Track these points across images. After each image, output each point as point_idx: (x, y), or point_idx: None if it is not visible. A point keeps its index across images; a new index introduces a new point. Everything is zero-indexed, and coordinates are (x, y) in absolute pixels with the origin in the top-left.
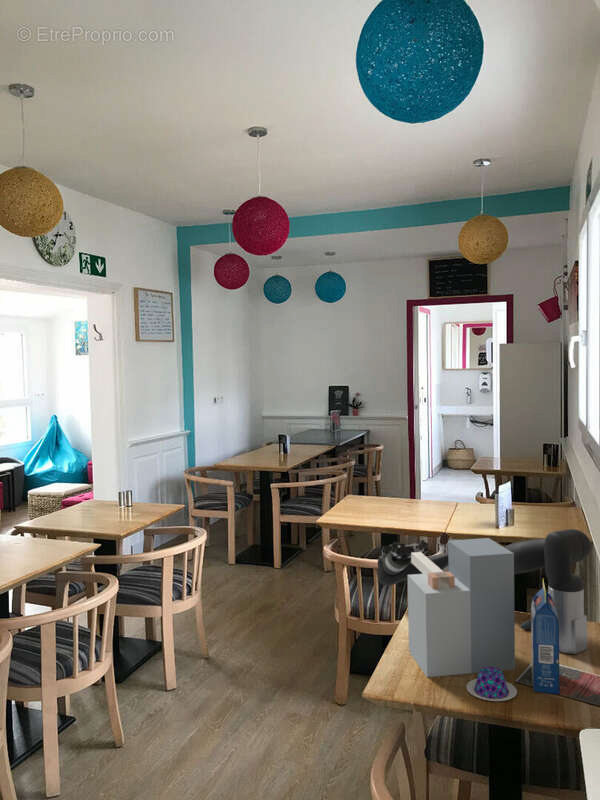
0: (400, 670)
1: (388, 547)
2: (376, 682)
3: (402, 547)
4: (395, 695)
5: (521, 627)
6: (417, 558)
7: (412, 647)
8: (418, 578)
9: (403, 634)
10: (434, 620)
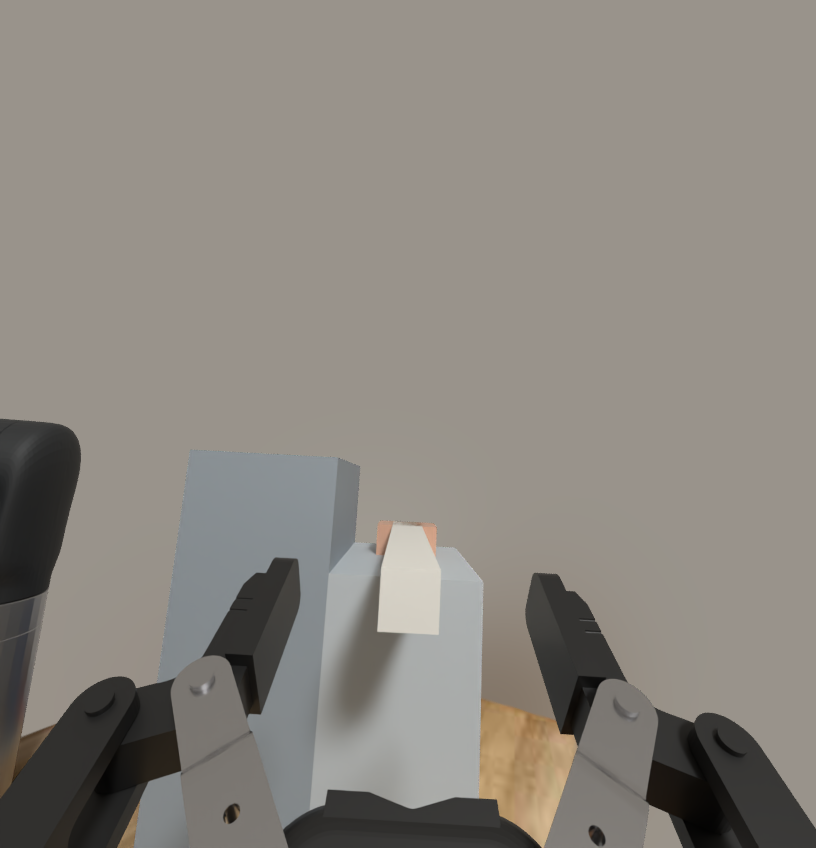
0: (512, 796)
1: (660, 717)
2: (569, 760)
3: (456, 811)
4: (522, 717)
5: None
6: (431, 549)
7: None
8: (451, 570)
9: None
10: None
